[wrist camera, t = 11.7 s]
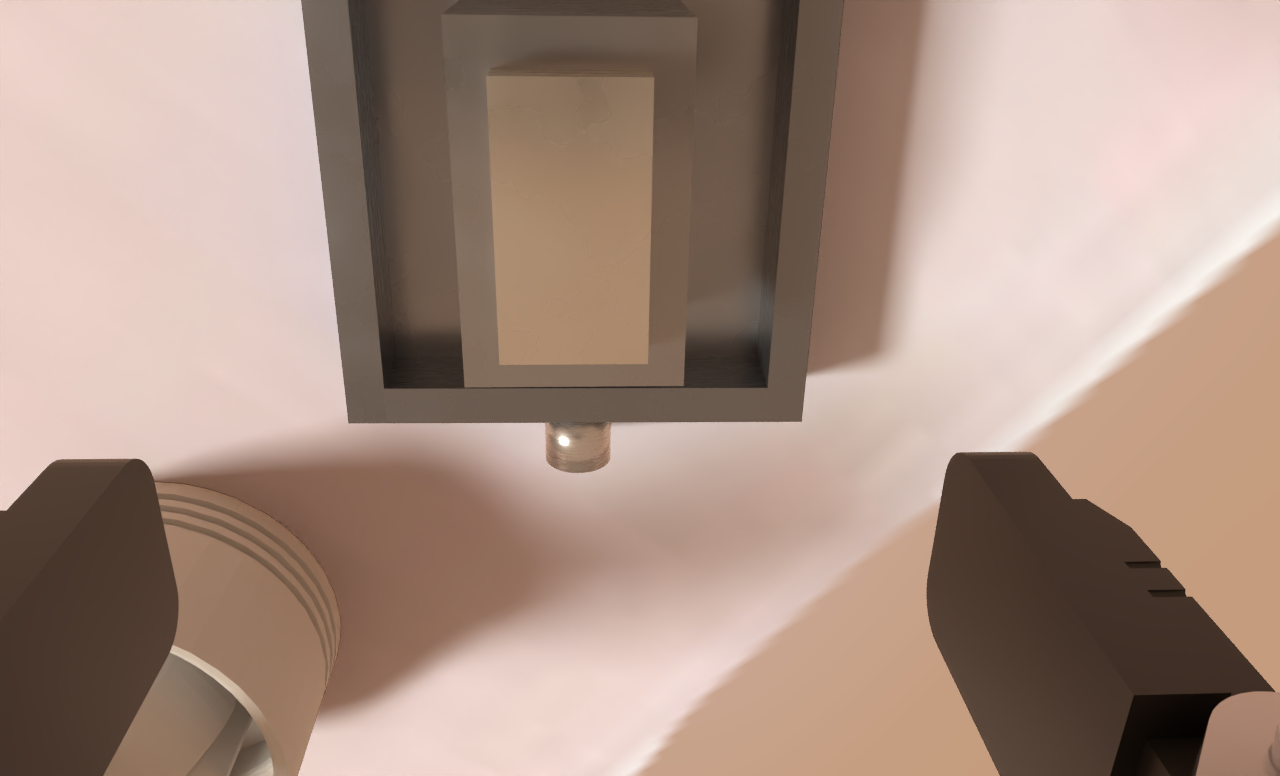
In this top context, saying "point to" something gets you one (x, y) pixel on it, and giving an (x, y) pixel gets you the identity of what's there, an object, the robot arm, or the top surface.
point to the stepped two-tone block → (571, 188)
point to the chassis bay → (718, 242)
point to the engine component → (234, 646)
